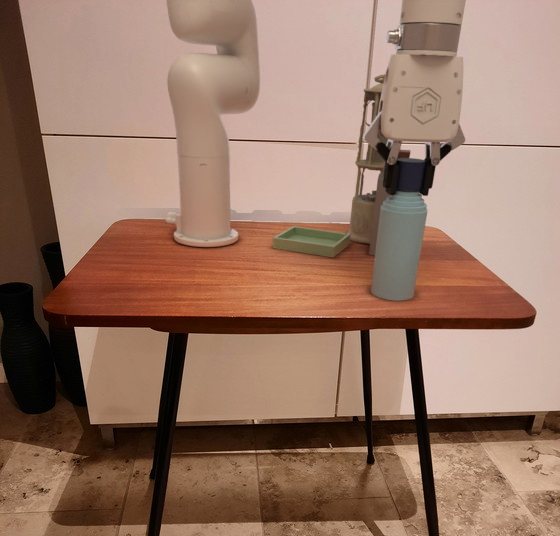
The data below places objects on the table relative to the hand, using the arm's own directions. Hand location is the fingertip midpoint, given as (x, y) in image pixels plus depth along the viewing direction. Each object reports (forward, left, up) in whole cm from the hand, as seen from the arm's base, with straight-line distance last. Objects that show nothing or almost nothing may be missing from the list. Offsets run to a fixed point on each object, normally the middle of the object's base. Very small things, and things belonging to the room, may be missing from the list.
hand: (406, 192), depth 77 cm
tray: (-20, +18, -15) cm, 31 cm away
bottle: (0, 0, -15) cm, 15 cm away
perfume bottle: (-6, +22, -15) cm, 27 cm away
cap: (0, 0, +1) cm, 1 cm away
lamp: (-12, +31, -15) cm, 37 cm away
